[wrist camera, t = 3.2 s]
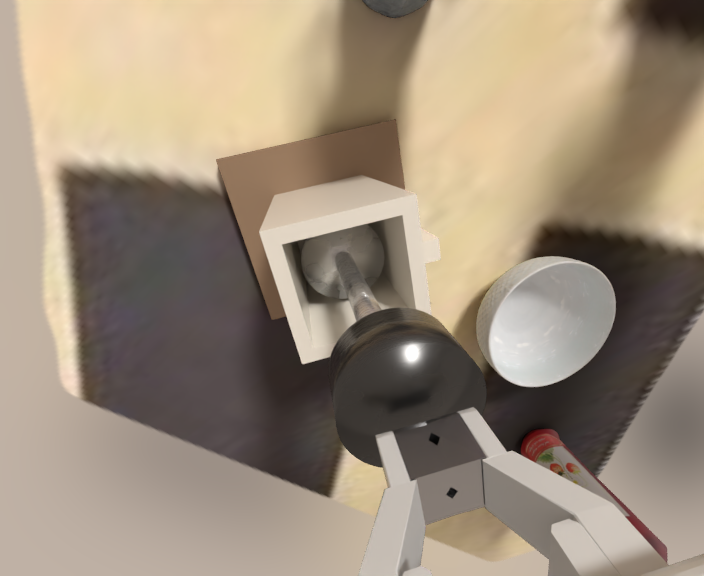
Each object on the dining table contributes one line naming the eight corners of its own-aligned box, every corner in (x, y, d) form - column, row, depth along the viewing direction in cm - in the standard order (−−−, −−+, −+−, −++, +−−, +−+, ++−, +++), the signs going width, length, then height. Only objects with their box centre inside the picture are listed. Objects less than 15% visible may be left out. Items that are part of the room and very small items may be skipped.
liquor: (538, 415, 55) (751, 644, 30) (562, 433, 58) (776, 657, 32) (506, 444, 57) (683, 687, 31) (530, 460, 59) (712, 696, 34)
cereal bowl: (586, 316, 49) (631, 341, 42) (488, 376, 50) (517, 409, 44) (552, 219, 42) (599, 232, 36) (440, 292, 43) (465, 317, 37)
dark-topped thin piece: (374, 207, 25) (504, 298, 10) (388, 284, 28) (507, 452, 12) (291, 228, 25) (287, 356, 9) (312, 304, 27) (338, 503, 12)
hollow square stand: (391, 120, 35) (485, 91, 18) (413, 277, 42) (495, 363, 25) (219, 159, 33) (143, 167, 17) (272, 314, 41) (258, 430, 24)
